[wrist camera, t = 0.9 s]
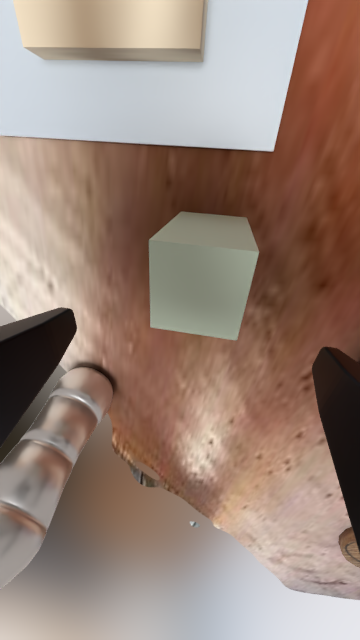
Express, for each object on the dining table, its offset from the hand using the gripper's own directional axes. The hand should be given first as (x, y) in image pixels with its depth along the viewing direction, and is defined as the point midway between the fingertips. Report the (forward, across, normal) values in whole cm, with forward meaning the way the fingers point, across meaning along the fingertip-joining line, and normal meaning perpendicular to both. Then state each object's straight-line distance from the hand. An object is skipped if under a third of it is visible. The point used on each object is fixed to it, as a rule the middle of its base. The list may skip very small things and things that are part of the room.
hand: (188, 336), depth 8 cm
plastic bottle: (+11, +12, +18) cm, 24 cm away
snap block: (+11, 0, 0) cm, 11 cm away
